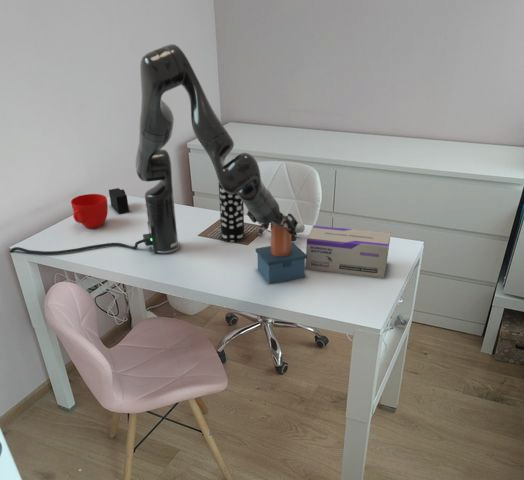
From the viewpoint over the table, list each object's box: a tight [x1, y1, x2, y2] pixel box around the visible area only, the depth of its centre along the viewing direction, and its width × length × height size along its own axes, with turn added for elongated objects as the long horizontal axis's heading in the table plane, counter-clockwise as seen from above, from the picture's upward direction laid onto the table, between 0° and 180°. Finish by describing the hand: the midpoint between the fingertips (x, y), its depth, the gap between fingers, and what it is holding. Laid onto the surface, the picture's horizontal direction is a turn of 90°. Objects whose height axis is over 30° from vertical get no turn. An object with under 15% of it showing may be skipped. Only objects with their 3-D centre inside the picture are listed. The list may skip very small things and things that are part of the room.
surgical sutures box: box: [305, 225, 391, 279], centre depth 173 cm, size 25×11×11 cm, turn 74°
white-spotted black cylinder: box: [218, 182, 245, 243], centre depth 191 cm, size 8×8×20 cm
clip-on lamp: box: [255, 222, 306, 243], centre depth 194 cm, size 12×6×18 cm
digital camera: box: [108, 187, 130, 215], centre depth 219 cm, size 10×5×7 cm, turn 30°
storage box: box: [254, 242, 307, 284], centre depth 171 cm, size 13×11×8 cm
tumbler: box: [270, 221, 291, 256], centre depth 165 cm, size 6×6×10 cm
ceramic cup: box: [70, 193, 109, 229], centre depth 203 cm, size 13×17×10 cm
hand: (280, 229), depth 163 cm, fingers open, 8 cm apart
